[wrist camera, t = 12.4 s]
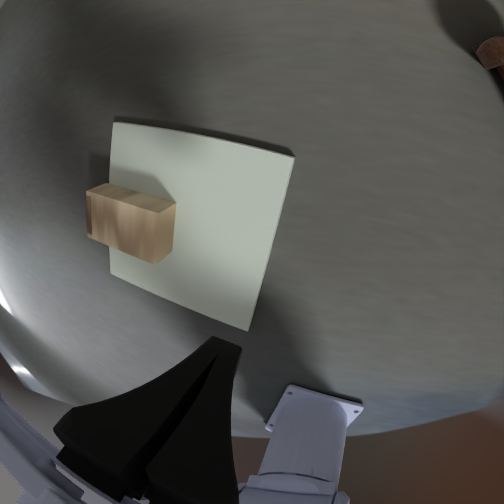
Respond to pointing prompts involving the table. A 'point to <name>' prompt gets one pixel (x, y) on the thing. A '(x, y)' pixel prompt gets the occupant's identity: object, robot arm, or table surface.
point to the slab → (131, 221)
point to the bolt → (491, 53)
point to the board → (203, 216)
